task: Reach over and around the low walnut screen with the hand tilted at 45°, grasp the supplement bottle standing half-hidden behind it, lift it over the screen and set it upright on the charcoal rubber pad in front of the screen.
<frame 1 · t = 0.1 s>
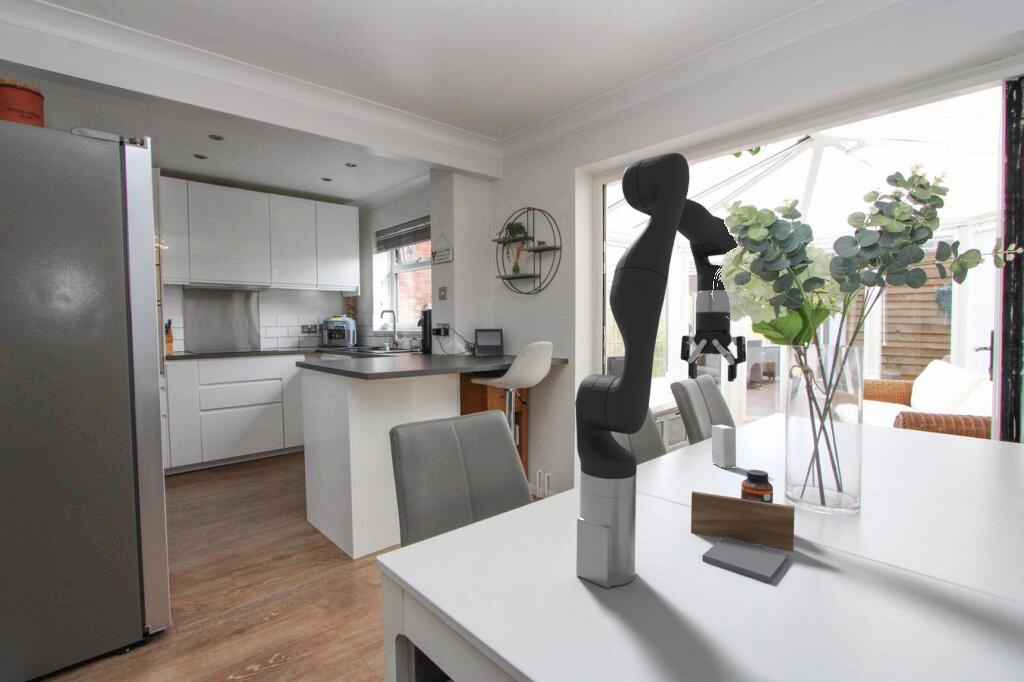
hand: (712, 380, 114), 29 cm above the table, tool pointing down, fingers open, 8 cm apart
grey upright block: (723, 467, 145), on the table
supplement bottle: (756, 526, 102), on the table
walnut screen: (740, 540, 95), on the table
charcoal pad: (745, 560, 86), on the table
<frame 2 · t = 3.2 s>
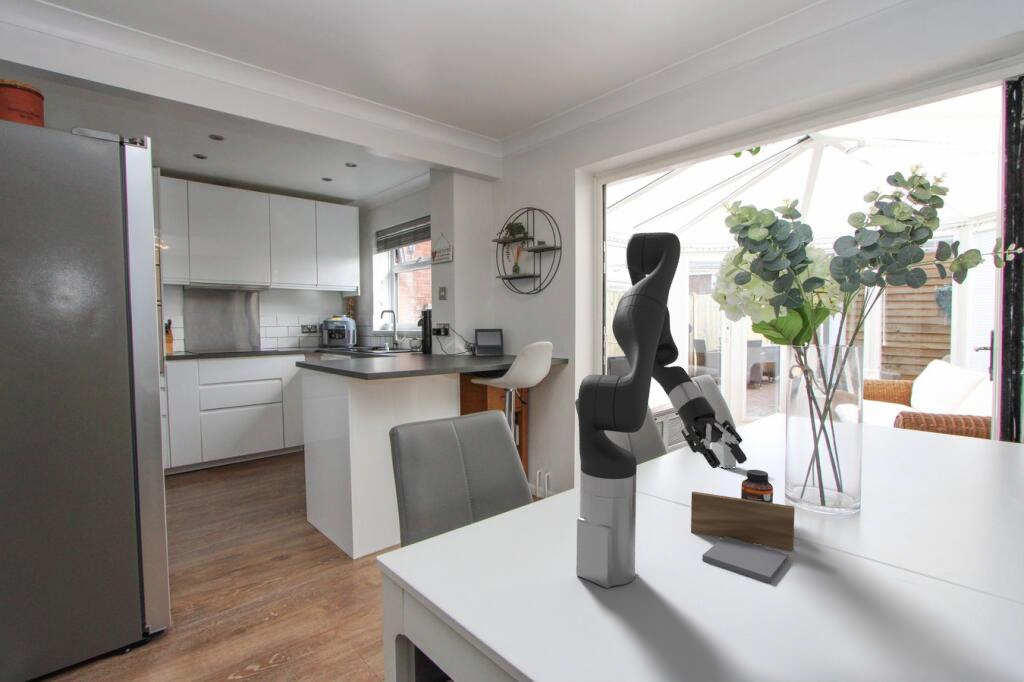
hand: (730, 464, 107), 11 cm above the table, tool tilted 45°, fingers open, 8 cm apart
nothing on the table moved.
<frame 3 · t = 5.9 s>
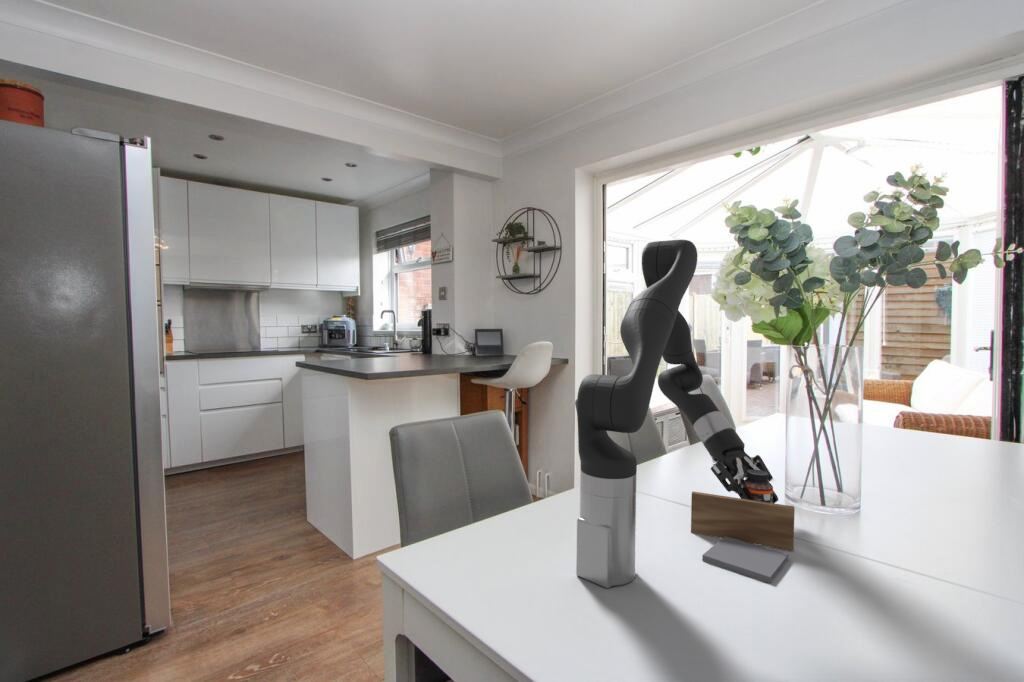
hand: (764, 504, 100), 5 cm above the table, tool tilted 45°, fingers closed on supplement bottle, 6 cm apart
supplement bottle: (756, 526, 102), on the table, touching gripper
everything else where it was.
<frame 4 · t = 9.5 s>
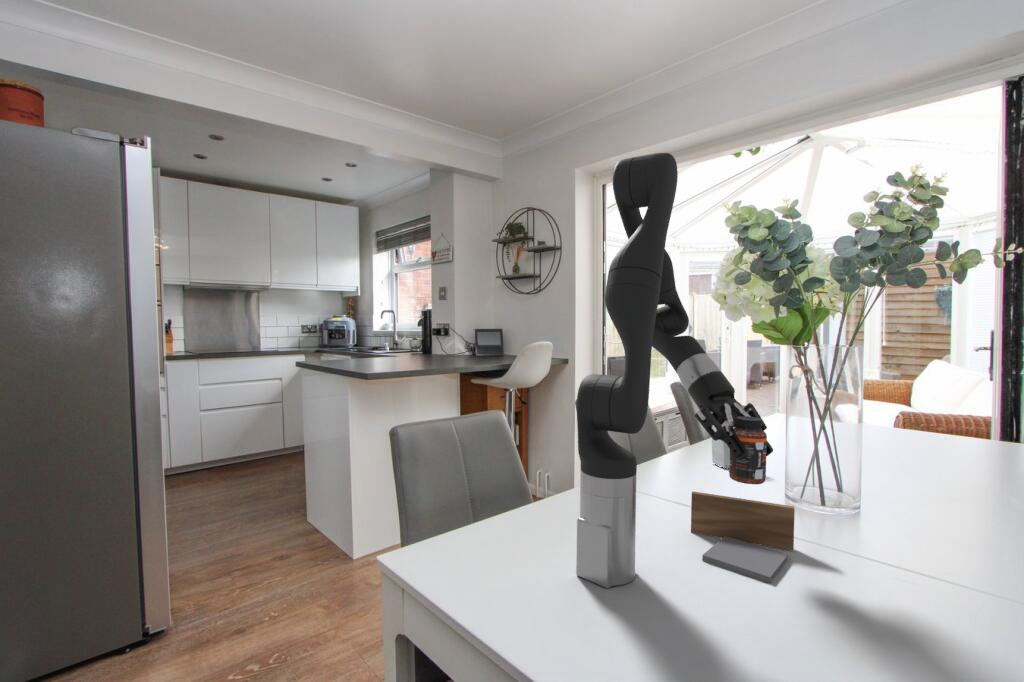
hand: (756, 455, 86), 19 cm above the table, tool tilted 45°, fingers closed on supplement bottle, 6 cm apart
supplement bottle: (746, 481, 87), point 14 cm above the table, touching gripper
everything else where it was.
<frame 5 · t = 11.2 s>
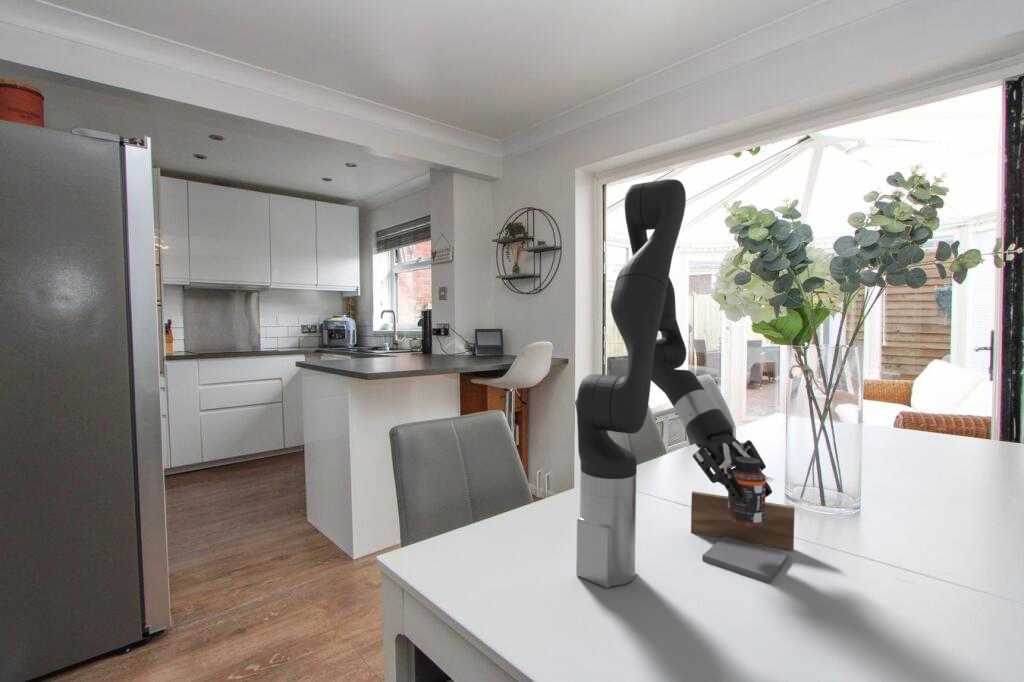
hand: (755, 498, 85), 12 cm above the table, tool tilted 45°, fingers closed on supplement bottle, 6 cm apart
supplement bottle: (745, 523, 86), point 7 cm above the table, touching gripper
everything else where it was.
when the fingers open (7 cm above the table, at t = 13.0 s): supplement bottle drops 1 cm, resting on charcoal pad.
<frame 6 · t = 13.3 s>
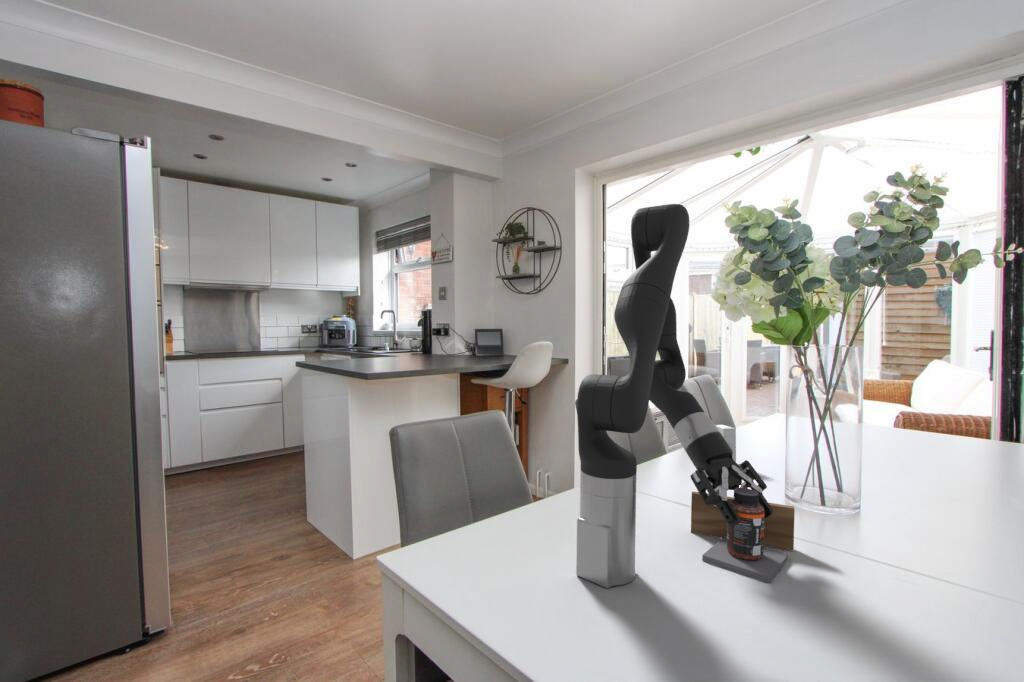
hand: (753, 519, 85), 8 cm above the table, tool tilted 45°, fingers open, 8 cm apart
supplement bottle: (744, 555, 86), point 1 cm above the table, touching charcoal pad
everything else where it was.
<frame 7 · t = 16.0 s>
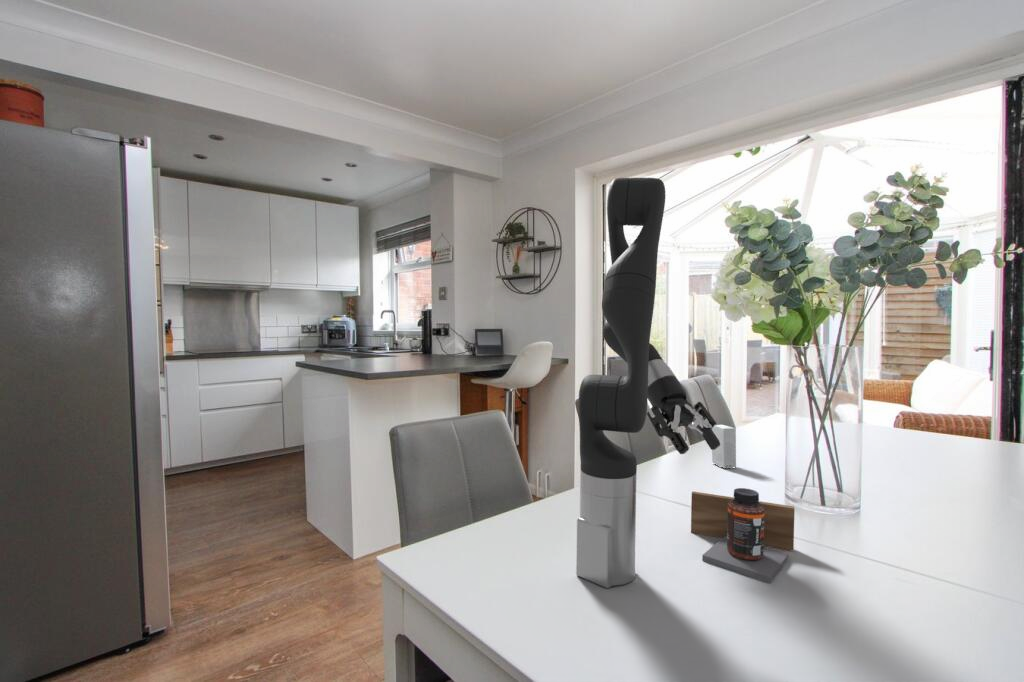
hand: (701, 449, 95), 17 cm above the table, tool tilted 45°, fingers open, 8 cm apart
nothing on the table moved.
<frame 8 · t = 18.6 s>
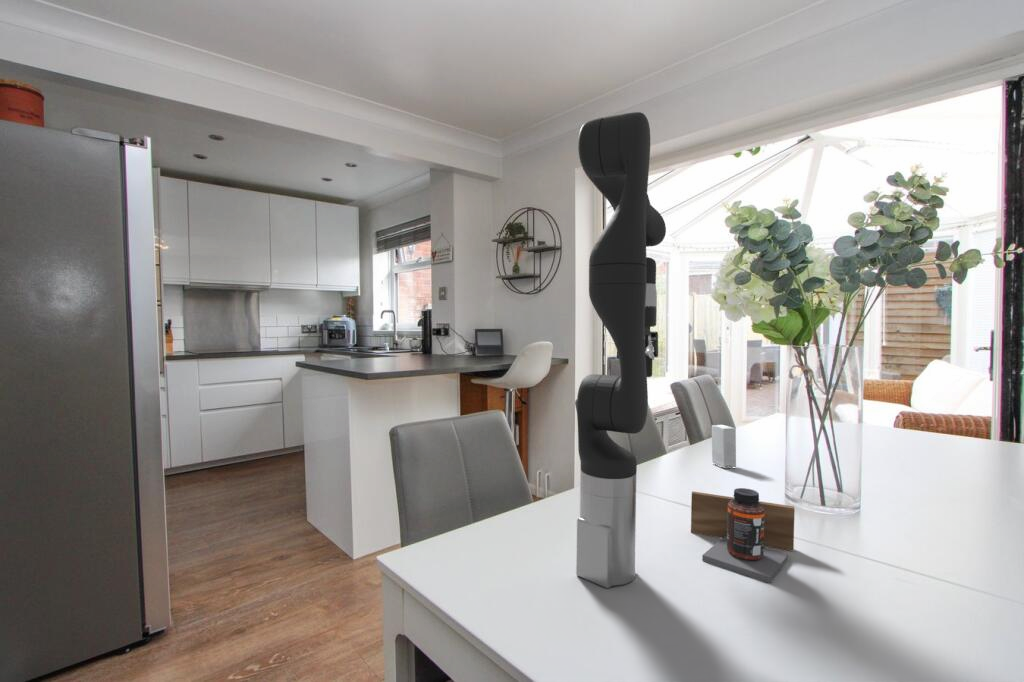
hand: (637, 378, 108), 30 cm above the table, tool pointing down, fingers open, 8 cm apart
nothing on the table moved.
at the end: supplement bottle inside the target area on the charcoal pad (0.2 cm from its centre), point 0.8 cm above the charcoal pad's base; supplement bottle tilted 0°; the gripper is holding nothing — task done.
